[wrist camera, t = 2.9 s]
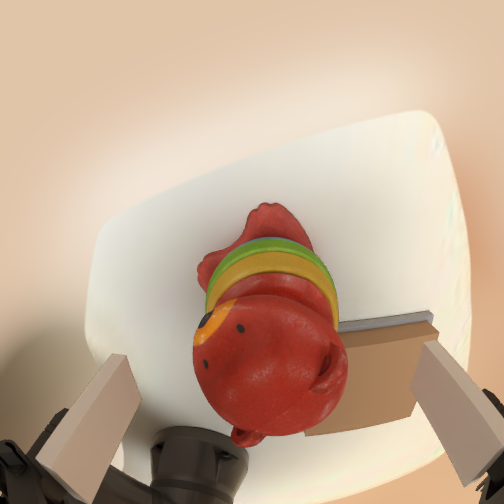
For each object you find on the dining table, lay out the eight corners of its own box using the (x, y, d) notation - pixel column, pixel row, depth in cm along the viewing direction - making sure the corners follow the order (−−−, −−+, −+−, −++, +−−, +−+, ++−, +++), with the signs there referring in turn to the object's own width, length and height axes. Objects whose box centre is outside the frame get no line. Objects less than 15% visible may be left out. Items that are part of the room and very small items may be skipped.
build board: (293, 415, 31) (296, 439, 27) (297, 325, 28) (302, 347, 23) (404, 397, 30) (415, 416, 26) (428, 310, 27) (447, 326, 23)
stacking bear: (270, 192, 24) (297, 210, 7) (342, 270, 26) (440, 390, 9) (189, 271, 26) (97, 396, 9) (261, 338, 28) (260, 492, 11)
